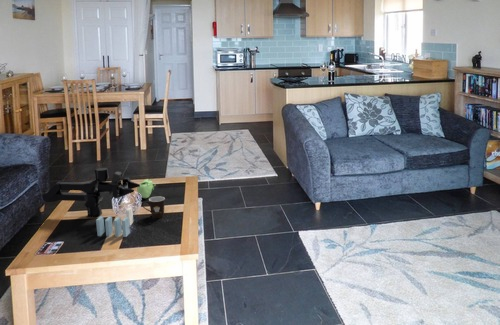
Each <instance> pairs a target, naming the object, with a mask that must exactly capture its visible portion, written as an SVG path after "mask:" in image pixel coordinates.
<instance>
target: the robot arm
mask: <svg viewBox="0 0 500 325" xmlns="http://www.w3.org/2000/svg"><path fill="white" fill-rule="evenodd" d="M94 175H95V179H91V180H87V181H58V182H56V183H54V185H53V186H52V187H51V188H50V189H49V190H48V191H46V192H44V193H43V194H42V200H43V202H45V203H47V204H49V203H55V202H58V201H68V202H70V201H71V202H85V203H84V206H85V208H86V211H87V215H86V218H99V217H100V216H102V214H103V211H102V206H101V202H102V200H103V198H104V194H103V193H109V194H111V195H112V197H113V198H114V199H119V198H122V197H124V196H127V195H130V194H132V193H134V192H135V190H134V189H137V187H139V186H140V183H136V182H134V181H132V180H131V178H130V177H124V178H123V179H122V176H123V173H122V172H121V171H115V172H114V173H113V175H112V179H111V181H108V180H109V169H108V167H100V168H95V169H94ZM63 191H66V192H63ZM67 191H81V192H67Z"/></svg>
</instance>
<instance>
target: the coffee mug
mask: <svg viewBox="0 0 500 325" xmlns="http://www.w3.org/2000/svg"><path fill="white" fill-rule="evenodd" d="M165 200H166V198H165V197H164V196H151V197H148V201H144V202H142V204H141V206H142V208H143V209H145V210H146V211H148V212H150V213H151V217H152V219H162V218H164V216H165V215H164V214H165ZM145 203H147V204H148V205H149V209H148V208H146V207H145V206H144V204H145Z"/></svg>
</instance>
